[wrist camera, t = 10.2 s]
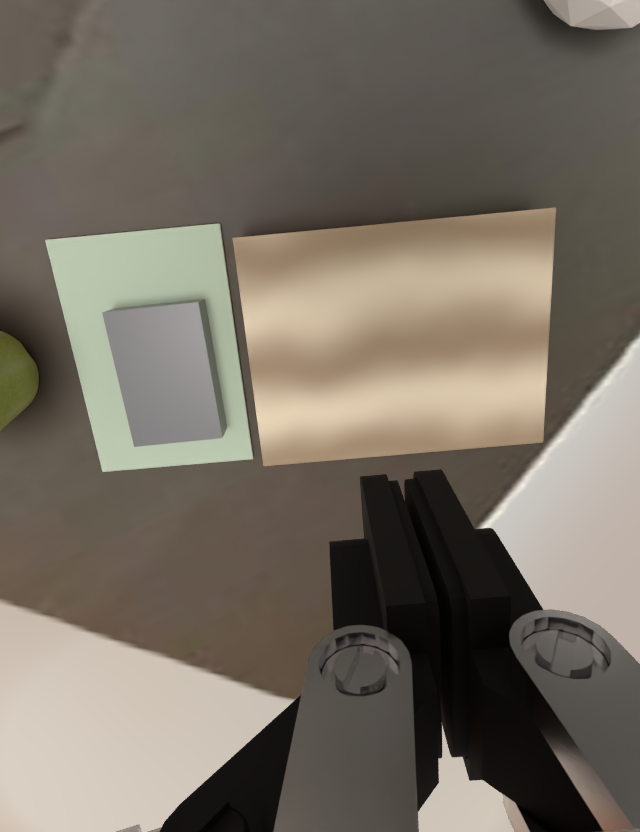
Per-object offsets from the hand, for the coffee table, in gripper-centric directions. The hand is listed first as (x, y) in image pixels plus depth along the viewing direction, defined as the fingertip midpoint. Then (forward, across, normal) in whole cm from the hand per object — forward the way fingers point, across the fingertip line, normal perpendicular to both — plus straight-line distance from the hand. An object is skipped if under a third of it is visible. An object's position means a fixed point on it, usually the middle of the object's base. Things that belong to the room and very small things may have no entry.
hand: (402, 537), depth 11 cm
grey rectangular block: (+23, +12, +2) cm, 26 cm away
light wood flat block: (+25, -3, +1) cm, 25 cm away
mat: (+25, +13, +1) cm, 28 cm away
